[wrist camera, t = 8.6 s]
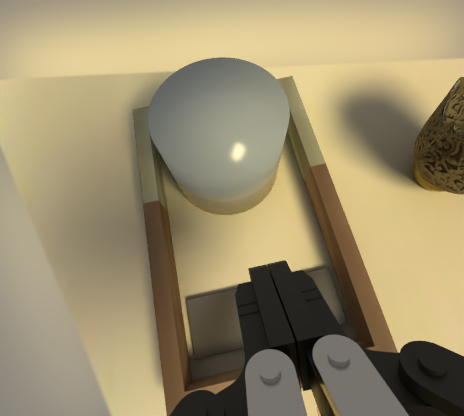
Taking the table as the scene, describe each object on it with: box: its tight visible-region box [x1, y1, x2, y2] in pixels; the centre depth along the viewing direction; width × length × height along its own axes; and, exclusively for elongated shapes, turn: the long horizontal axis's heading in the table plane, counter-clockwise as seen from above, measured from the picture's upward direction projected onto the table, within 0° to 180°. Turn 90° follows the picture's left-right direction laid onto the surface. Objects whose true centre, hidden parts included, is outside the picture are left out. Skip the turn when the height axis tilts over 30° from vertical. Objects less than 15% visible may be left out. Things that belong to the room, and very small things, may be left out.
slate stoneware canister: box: [148, 58, 290, 215], centre depth 21 cm, size 9×9×8 cm
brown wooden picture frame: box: [133, 76, 398, 416], centre depth 21 cm, size 14×23×2 cm, turn 12°
